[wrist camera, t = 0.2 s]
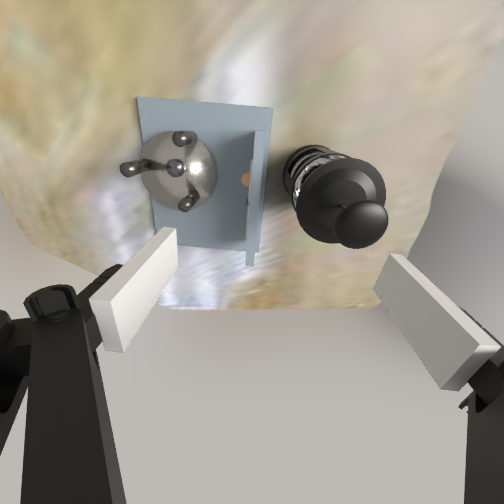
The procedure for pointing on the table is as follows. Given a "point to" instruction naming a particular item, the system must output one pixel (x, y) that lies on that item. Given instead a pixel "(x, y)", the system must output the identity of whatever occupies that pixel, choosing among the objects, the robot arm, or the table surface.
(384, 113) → the table surface
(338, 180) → the french press
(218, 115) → the stand
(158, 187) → the capstan
